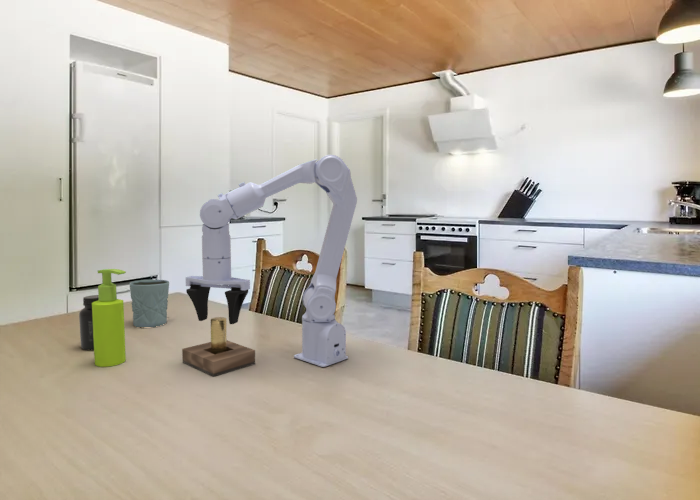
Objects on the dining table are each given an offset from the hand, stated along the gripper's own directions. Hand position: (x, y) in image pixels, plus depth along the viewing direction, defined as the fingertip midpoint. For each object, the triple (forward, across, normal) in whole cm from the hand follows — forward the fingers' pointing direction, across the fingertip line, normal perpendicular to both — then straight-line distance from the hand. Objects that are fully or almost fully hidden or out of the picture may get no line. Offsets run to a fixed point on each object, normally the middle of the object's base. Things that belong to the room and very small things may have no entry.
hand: (218, 321), depth 97 cm
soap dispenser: (+9, +22, +7) cm, 24 cm away
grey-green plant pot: (+9, +37, -21) cm, 43 cm away
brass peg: (+8, 0, 0) cm, 8 cm away
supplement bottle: (+9, +34, 0) cm, 35 cm away
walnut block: (+9, 0, 0) cm, 9 cm away
